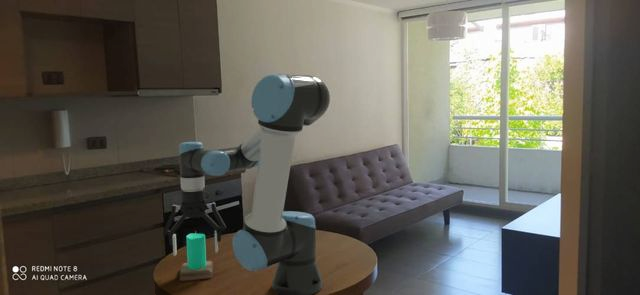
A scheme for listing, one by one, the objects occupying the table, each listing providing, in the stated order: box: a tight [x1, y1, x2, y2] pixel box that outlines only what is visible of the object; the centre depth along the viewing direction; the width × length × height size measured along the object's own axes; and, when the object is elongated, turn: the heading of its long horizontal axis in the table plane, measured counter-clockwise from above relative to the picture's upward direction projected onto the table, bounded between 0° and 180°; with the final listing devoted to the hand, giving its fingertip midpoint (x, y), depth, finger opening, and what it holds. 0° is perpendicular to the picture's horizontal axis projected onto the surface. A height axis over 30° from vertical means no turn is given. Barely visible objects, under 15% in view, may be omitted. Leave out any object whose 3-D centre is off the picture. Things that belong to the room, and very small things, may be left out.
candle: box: [185, 230, 207, 270], centre depth 151 cm, size 6×6×12 cm
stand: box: [179, 260, 214, 282], centre depth 152 cm, size 10×10×2 cm
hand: (196, 252), depth 152 cm, fingers open, 13 cm apart
